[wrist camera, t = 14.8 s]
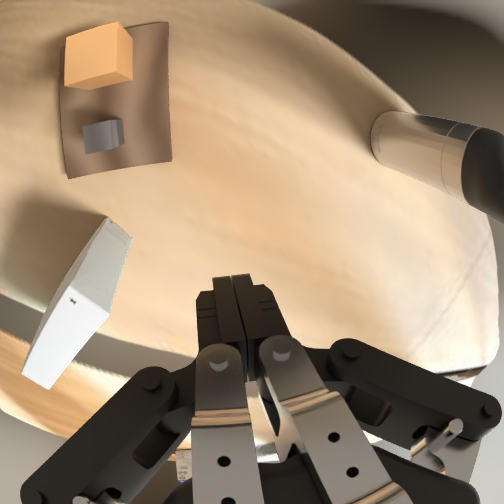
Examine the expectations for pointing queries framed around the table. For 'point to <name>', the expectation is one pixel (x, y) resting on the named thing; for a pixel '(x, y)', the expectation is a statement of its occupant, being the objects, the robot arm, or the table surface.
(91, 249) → the skincare box
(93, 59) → the peach wooden cube
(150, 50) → the post board
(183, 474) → the ink cartridge box
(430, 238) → the table surface
